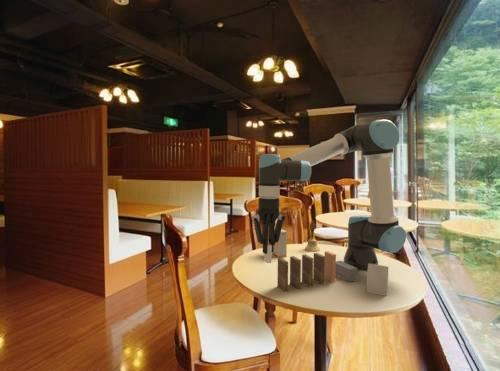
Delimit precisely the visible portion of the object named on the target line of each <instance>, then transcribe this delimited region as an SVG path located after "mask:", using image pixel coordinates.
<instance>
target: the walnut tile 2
mask: <svg viewBox="0 0 500 371" xmlns="http://www.w3.org/2000/svg"><path fill="white" fill-rule="evenodd" d="M301 284H302V259H300V258H298V257H297V256H294V255H292V256H289V285H290V286H291V287H293V288H294V289H296V290H299V289H300V290H301V289H302V286H301Z"/></svg>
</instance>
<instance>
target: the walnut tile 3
mask: <svg viewBox="0 0 500 371" xmlns="http://www.w3.org/2000/svg"><path fill="white" fill-rule="evenodd" d="M313 260H314V257H312V256H309V255H308V254H302V255H301V283H302V284H305V285H306V286H307V287H309V288H310V287H313V281H314V280H313Z"/></svg>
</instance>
